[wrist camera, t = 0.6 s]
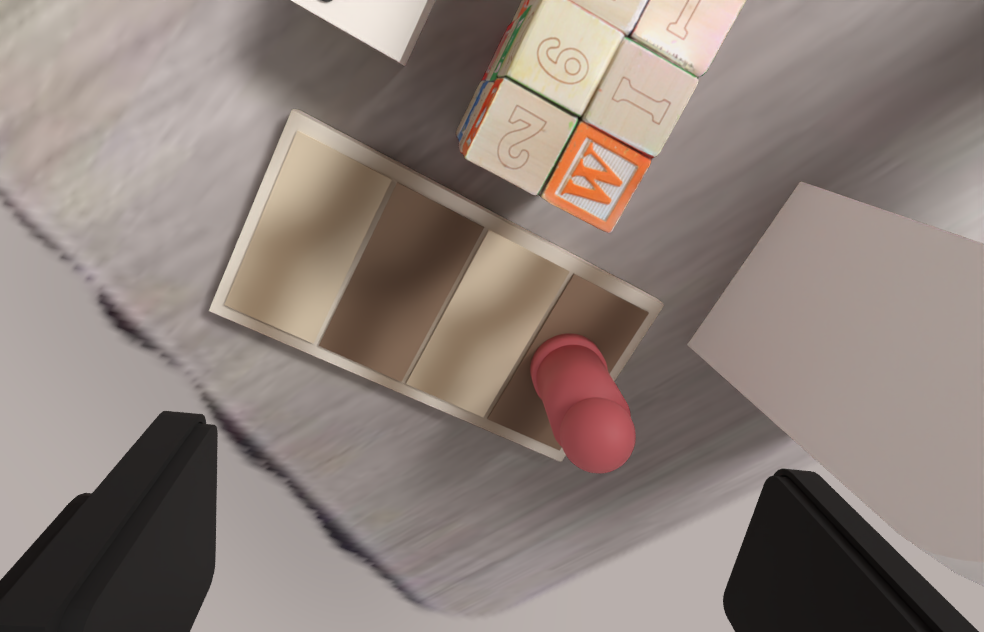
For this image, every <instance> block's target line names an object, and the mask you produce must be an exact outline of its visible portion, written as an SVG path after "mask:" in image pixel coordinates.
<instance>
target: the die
mask: <svg viewBox="0 0 984 632" xmlns="http://www.w3.org/2000/svg"><path fill="white" fill-rule="evenodd" d="M291 1H293V2H295V3H296V4H298V5H299V6H301V7H303V8H304V9H306V10H308V11H309V12H311V13H312V14H314V15H316V16H318V17H319V18H321V19H323V20H325V21H326V22H328V23H330V24H332V25H333V26H335V27H337V28H339V29H340V30H342V31H344V32H346V33H348V34H349V35H351V36H353V37H355V38H356V39H358V40H360V41H362V42H363V43H365V44H367V45H369V46H370V47H372V48H374V49H376V50H377V51H379V52H381V53H383V54H384V55H386V56H388V57H390V58H391V59H393V60H395V61H397V62H398V63H400V64H402V65H404V66H406V64H407V61H408V59H409V57H410V55H411V53H412V51H413V48H414V46H415V44H416V42H417V40H418V37H419V35H420V33H421V31H422V29H423V27H424V24H425V22H426V20H427V18H428V16H429V14H430V11H431V9H432V7H433V5H434V3H435V0H291Z"/></svg>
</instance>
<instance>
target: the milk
mask: <svg viewBox="0 0 984 632" xmlns="http://www.w3.org/2000/svg"><path fill="white" fill-rule="evenodd" d="M687 345H688V346H689V347H690V348H691V349H692V350H693V351H695V352H696V353H697V354H698V355H699V356H700V357H701V358H702V359H704V360H705V361H706V362H707V363H708V364H709V365H710V366H711V367H712V368H714V369H715V370H716V371H717V372H718V373H719V374H720V375H721V376H723V377H724V378H725V379H726V380H727V381H728V382H729V383H730V384H731V385H733V386H734V387H735V388H736V389H737V390H738V391H739V392H740V393H742V394H743V395H744V396H745V397H746V398H747V399H748V400H749V401H751V402H752V403H753V404H754V405H755V406H756V407H757V408H758V409H759V410H761V411H762V412H763V413H764V414H765V415H766V416H767V417H768V418H770V419H771V420H772V421H773V422H774V423H775V424H776V425H777V426H778V427H780V428H781V429H782V430H783V431H784V432H785V433H786V434H787V435H789V436H790V437H791V438H792V439H793V440H794V441H795V442H796V443H797V444H799V445H800V446H801V447H802V448H803V449H804V450H805V451H806V452H808V453H809V454H810V455H811V456H812V457H813V458H814V459H815V460H816V461H818V462H819V463H820V464H821V465H822V466H823V467H824V468H825V469H827V470H828V471H829V472H830V473H831V474H832V475H833V476H834V477H836V478H837V479H838V480H839V481H840V482H841V483H842V484H843V485H845V486H846V487H847V488H848V489H849V490H850V491H851V492H852V493H853V494H855V495H856V496H857V497H858V498H859V499H860V500H861V501H862V502H864V503H865V504H866V505H867V506H868V507H869V508H870V509H871V510H872V511H874V512H875V513H876V514H877V515H878V516H880V518H881V519H883V520H884V521H885V522H886V523H887V524H888V525H889V526H890V527H891V528H893V529H894V530H895V531H896V532H897V533H898V534H900V535H901V536H902V537H904V538H905V539H907V540H908V541H910V542H911V543H912V544H914V545H915V546H917V547H918V548H920V549H921V550H923V551H924V552H925V553H927V554H928V555H930V556H931V557H933V558H934V559H936V560H937V561H938V562H940V563H941V564H943V565H944V566H946V567H947V568H949V569H950V570H951V571H953V572H954V573H957V574H958V575H961V576H963V577H965V578H967V579H969V580H971V581H973V582H975V583H977V584H979V585H982V586H984V244H983V243H980V242H977V241H974V240H971V239H968V238H965V237H962V236H959V235H956V234H953V233H951V232H948V231H945V230H942V229H939V228H936V227H933V226H930V225H927V224H924V223H921V222H918V221H915V220H913V219H910V218H907V217H904V216H901V215H898V214H895V213H892V212H889V211H886V210H883V209H880V208H877V207H875V206H872V205H869V204H866V203H863V202H860V201H857V200H854V199H851V198H848V197H845V196H842V195H839V194H837V193H834V192H831V191H828V190H825V189H822V188H819V187H816V186H813V185H810V184H807V183H804V182H801V181H800V183H799V184H798V186H797V187H796V188H795V190H794V191H793V193H792V194H791V196H790V197H789V199H788V200H787V201H786V203H785V204H784V206H783V207H782V209H781V210H780V211H779V213H778V214H777V216H776V217H775V219H774V220H773V222H772V223H771V224H770V226H769V227H768V229H767V230H766V232H765V233H764V235H763V236H762V237H761V239H760V240H759V242H758V243H757V245H756V246H755V247H754V249H753V250H752V252H751V253H750V255H749V256H748V258H747V259H746V260H745V262H744V263H743V265H742V266H741V268H740V269H739V271H738V272H737V273H736V275H735V276H734V278H733V279H732V281H731V282H730V283H729V285H728V286H727V288H726V289H725V291H724V292H723V294H722V295H721V296H720V298H719V299H718V301H717V302H716V304H715V305H714V307H713V308H712V309H711V311H710V312H709V314H708V315H707V317H706V318H705V319H704V321H703V322H702V324H701V325H700V327H699V328H698V330H697V331H696V332H695V334H694V335H693V337H692V338H691V340H690V341H689V343H688V344H687Z"/></svg>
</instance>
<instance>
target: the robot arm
mask: <svg viewBox="0 0 984 632" xmlns="http://www.w3.org/2000/svg"><path fill="white" fill-rule="evenodd" d="M216 490H217V427H216V426H215V425H210V424H206V420H205V416H204V415H203V414H192V413H183V412H171V411H163V412H162V413H161V414H159V416H158V417H157V418H156V419H155V420H154V421H153V423H152V424H151V425H150V426H149V427H148V428H147V430H146V431H145V432H144V433H143V434H142V436H141V437H140V438H139V439H138V440H137V441H136V443H135V444H134V445H133V446H132V447H131V448H130V450H129V451H128V452H127V453H126V454H125V456H124V457H123V458H122V459H121V460H120V461H119V463H118V464H117V465H116V466H115V467H114V469H113V470H112V471H111V472H110V473H109V474H108V475H107V477H106V478H105V479H104V480H103V481H102V482H101V484H100V485H99V486H98V487H97V489H96V490H95V491H94V492H93V493H91V494H90V493H84V494H80V495H78V496H77V497H75V498H74V499H73V500H72V501H71V502H70V503H69V504H68V505H67V506H66V507H65V508H64V509H63V511H62V512H61V513H60V514H59V515H58V516H57V517H56V518H55V520H54V521H53V522H52V523H51V524H50V525H49V526H48V527H47V529H46V530H45V531H44V532H43V533H42V534H41V535H40V537H39V538H38V539H37V540H36V541H35V542H34V543H33V544H32V546H31V547H30V548H29V549H28V550H27V551H26V552H25V553H24V554H23V556H22V557H21V558H20V559H19V560H18V561H17V562H16V564H15V565H14V566H13V567H12V568H11V569H10V570H9V571H8V572H7V574H6V575H5V576H4V577H3V578H2V579H1V580H0V632H190V630H191V628H192V626H193V623H194V621H195V619H196V617H197V615H198V612H199V610H200V608H201V606H202V603H203V601H204V598H205V597H206V594H207V592H208V590H209V588H210V585H211V582H212V578H213V574H214V569H215V551H216ZM723 605H724V610H725V613H726V616H727V618H728V620H729V621H730V623H731V625H732V626H733V629H734V630H735V632H979V631H977V629H976V628H974V626H973V625H971V624H970V623H969V622H968V621H967V620H966V619H965V618H964V617H963V616H962V615H961V614H960V613H959V612H958V611H957V610H956V609H955V608H954V607H953V606H952V605H951V604H950V603H949V602H948V601H947V600H946V599H945V598H944V597H943V596H942V595H941V594H940V593H939V592H938V591H937V590H936V589H935V588H934V587H933V586H932V585H931V584H930V583H929V582H928V581H927V580H925V578H924V577H923V576H921V574H919V573H918V572H917V571H916V570H915V569H914V568H913V567H912V566H911V565H910V564H909V563H908V562H907V561H906V560H905V559H904V558H903V557H902V556H901V555H900V554H899V553H898V552H897V551H896V550H895V549H894V548H893V547H892V546H891V545H890V544H889V543H888V542H887V541H886V540H885V539H884V538H883V537H882V536H881V535H880V534H879V533H878V532H877V531H876V530H875V529H873V527H871V526H870V524H868V523H867V522H866V521H865V520H864V519H863V518H862V517H861V516H860V515H859V514H858V513H857V512H856V511H855V510H854V509H853V508H852V507H851V506H850V505H849V504H848V503H847V502H846V501H845V500H844V499H843V498H842V497H841V496H840V495H839V494H838V493H837V492H836V491H835V490H834V489H833V488H831V486H830V485H829V484H828V483H827V482H826V481H825V480H824V479H823V478H822V477H821V476H820V475H818V474H816V473H815V472H811V471H802V470H791V469H780V470H778V471H777V472H776V473H775V474H774V476H771V477H769V478H768V479H767V480H766V481H765V483H764V486H763V489H762V491H761V494H760V497H759V499H758V502H757V505H756V508H755V510H754V514H753V516H752V518H751V521H750V524H749V527H748V529H747V532H746V535H745V537H744V540H743V543H742V546H741V548H740V551H739V554H738V556H737V559H736V562H735V564H734V567H733V570H732V573H731V576H730V578H729V581H728V583H727V586H726V589H725V592H724V596H723Z"/></svg>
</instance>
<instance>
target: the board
mask: <svg viewBox="0 0 984 632" xmlns="http://www.w3.org/2000/svg"><path fill="white" fill-rule="evenodd" d="M663 307H664V304H663V303H662V302H661V301H660V300H658V299H657V298H655V297H654V296H652V295H650V294H648V293H646V292H644V291H642V290H640V289H638V288H636V287H635V286H633V285H631V284H629V283H627V282H625V281H623V280H621V279H619V278H617V277H616V276H614V275H612V274H610V273H608V272H606V271H604V270H602V269H600V268H598V267H597V266H595V265H593V264H591V263H589V262H587V261H585V260H583V259H581V258H579V257H578V256H576V255H574V254H572V253H570V252H568V251H566V250H564V249H562V248H561V247H559V246H557V245H555V244H553V243H551V242H549V241H547V240H545V239H543V238H542V237H540V236H538V235H536V234H534V233H532V232H530V231H528V230H526V229H524V228H523V227H521V226H519V225H517V224H515V223H513V222H511V221H509V220H507V219H505V218H504V217H502V216H500V215H498V214H496V213H494V212H492V211H490V210H488V209H486V208H485V207H483V206H481V205H479V204H477V203H475V202H473V201H471V200H469V199H468V198H466V197H464V196H462V195H460V194H458V193H456V192H454V191H452V190H450V189H449V188H447V187H445V186H443V185H441V184H439V183H437V182H435V181H433V180H431V179H430V178H428V177H426V176H424V175H422V174H420V173H418V172H416V171H414V170H412V169H411V168H409V167H407V166H405V165H403V164H401V163H399V162H397V161H395V160H393V159H392V158H390V157H388V156H386V155H384V154H382V153H380V152H378V151H376V150H375V149H373V148H371V147H369V146H367V145H365V144H363V143H361V142H359V141H357V140H356V139H354V138H352V137H350V136H348V135H346V134H344V133H342V132H340V131H338V130H337V129H335V128H333V127H331V126H329V125H327V124H325V123H323V122H321V121H319V120H318V119H316V118H314V117H312V116H310V115H308V114H306V113H304V112H302V111H300V110H299V109H292V111H291V113H290V115H289V118H288V120H287V123H286V125H285V127H284V130H283V132H282V135H281V137H280V140H279V142H278V144H277V147H276V149H275V152H274V154H273V157H272V159H271V161H270V164H269V166H268V169H267V171H266V173H265V176H264V178H263V181H262V183H261V186H260V188H259V190H258V193H257V195H256V198H255V200H254V203H253V205H252V207H251V210H250V212H249V215H248V217H247V219H246V222H245V224H244V227H243V229H242V232H241V234H240V236H239V239H238V241H237V244H236V246H235V248H234V251H233V253H232V256H231V258H230V261H229V263H228V265H227V268H226V270H225V273H224V275H223V278H222V280H221V282H220V285H219V287H218V290H217V292H216V294H215V297H214V299H213V302H212V304H211V307H210V309H209V311H210V312H213V313H215V314H217V315H220V316H222V317H224V318H227V319H229V320H231V321H234V322H236V323H238V324H240V325H243V326H245V327H247V328H250V329H252V330H254V331H257V332H259V333H261V334H264V335H266V336H268V337H271V338H273V339H275V340H278V341H280V342H282V343H285V344H287V345H289V346H292V347H294V348H296V349H299V350H301V351H303V352H306V353H308V354H310V355H313V356H315V357H317V358H320V359H322V360H324V361H327V362H329V363H331V364H334V365H336V366H338V367H341V368H343V369H345V370H348V371H350V372H352V373H355V374H357V375H359V376H362V377H364V378H366V379H369V380H371V381H373V382H376V383H378V384H380V385H382V386H385V387H387V388H389V389H392V390H394V391H396V392H399V393H401V394H403V395H406V396H408V397H410V398H413V399H415V400H417V401H420V402H422V403H424V404H427V405H429V406H431V407H434V408H436V409H438V410H441V411H443V412H445V413H448V414H450V415H452V416H455V417H457V418H459V419H462V420H464V421H466V422H469V423H471V424H473V425H476V426H478V427H480V428H483V429H485V430H487V431H490V432H492V433H494V434H497V435H499V436H501V437H504V438H506V439H508V440H511V441H513V442H515V443H518V444H520V445H522V446H524V447H527V448H529V449H531V450H534V451H536V452H538V453H541V454H543V455H545V456H548V457H550V458H552V459H555V460H557V461H559V462H562V461H563V459H564V458H565V456H566V454H565V453H564V451H563V448H562V447H561V446H560V445H559V443H558V442H557V441H556V439H555V437H554V434H553V431H552V428H551V425H550V422H549V419H548V416H547V413H546V410H545V407H544V404H543V401H542V399H541V398H540V397H539V396H538V394H537V392H536V390H535V388H534V385H533V381H532V378H531V374H530V365H531V360H532V358H533V355H534V353H535V352H536V350H537V349H538V348H539V347H540V345H542V344H543V343H544V342H545V341H547V340H548V339H550V338H552V337H554V336H557V335H561V334H578V335H582V336H584V337H586V338H588V339H590V340H591V341H592V342H593V343H594V344H595V345H596V346H597V348H598V349H599V351H600V352H601V354H602V355H603V357H604V359H605V361H606V364H607V369H608V372H609V374H610V376H611V377H612V379H613V381H615V380H616V378H617V377H618V375H619V374H620V372H621V371H622V369H623V368H624V366H625V365H626V363H627V362H628V360H629V358H630V357H631V355H632V354H633V352H634V351H635V349H636V348H637V346H638V345H639V343H640V342H641V340H642V339H643V337H644V336H645V334H646V333H647V331H648V330H649V328H650V326H651V325H652V323H653V322H654V320H655V319H656V317H657V316H658V314H659V313H660V311H661V310H662V308H663Z"/></svg>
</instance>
